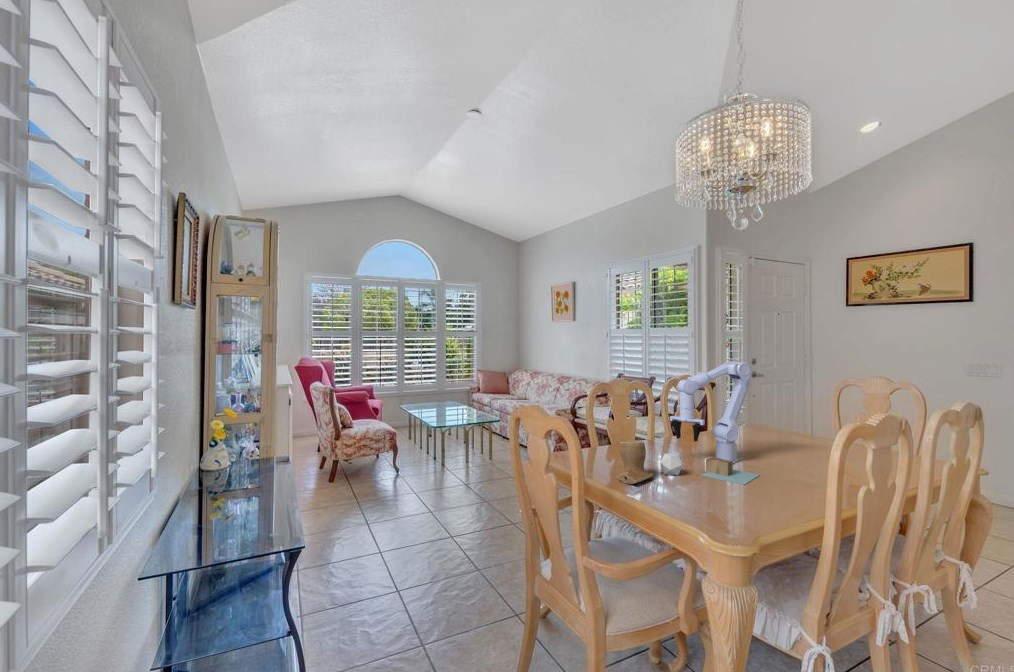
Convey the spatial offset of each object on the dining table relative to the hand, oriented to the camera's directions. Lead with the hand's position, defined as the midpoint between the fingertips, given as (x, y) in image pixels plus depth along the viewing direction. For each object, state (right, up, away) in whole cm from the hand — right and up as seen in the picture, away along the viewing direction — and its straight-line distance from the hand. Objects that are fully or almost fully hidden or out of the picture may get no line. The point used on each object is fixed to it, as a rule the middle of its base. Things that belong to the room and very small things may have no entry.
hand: (687, 439), depth 201 cm
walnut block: (+4, -8, -10) cm, 13 cm away
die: (-12, -11, -14) cm, 21 cm away
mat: (+11, -10, -17) cm, 22 cm away
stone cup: (-29, -11, -20) cm, 37 cm away
